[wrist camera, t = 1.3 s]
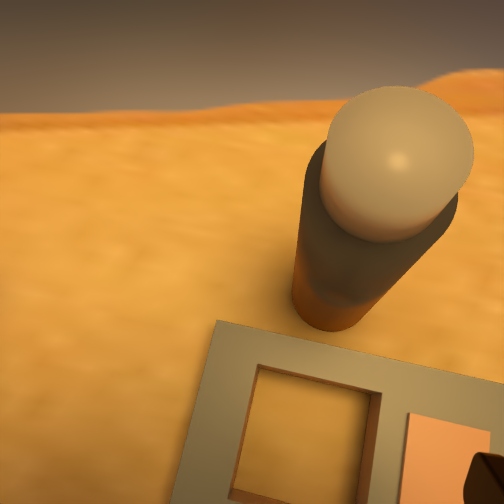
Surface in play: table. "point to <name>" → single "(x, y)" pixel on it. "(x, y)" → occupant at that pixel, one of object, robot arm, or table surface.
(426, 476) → the socket plate
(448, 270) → the table surface
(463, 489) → the robot arm
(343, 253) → the grey and beige cylinder
